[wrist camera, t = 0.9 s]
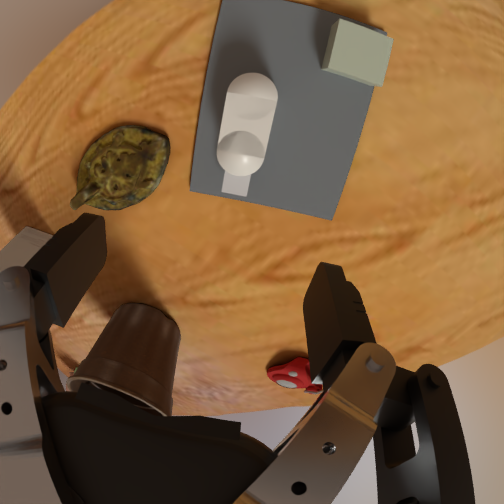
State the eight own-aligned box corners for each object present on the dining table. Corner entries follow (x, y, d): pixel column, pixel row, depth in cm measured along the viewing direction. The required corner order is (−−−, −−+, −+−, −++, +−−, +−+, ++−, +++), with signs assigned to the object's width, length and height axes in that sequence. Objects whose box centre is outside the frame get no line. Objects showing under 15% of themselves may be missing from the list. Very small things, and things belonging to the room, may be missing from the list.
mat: (225, -7, 18) (224, -8, 18) (385, 33, 19) (387, 32, 19) (191, 189, 31) (189, 191, 30) (330, 218, 32) (331, 220, 31)
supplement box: (26, 224, 35) (-22, 271, 24) (57, 235, 36) (9, 289, 25) (32, 259, 39) (-8, 307, 28) (62, 272, 40) (23, 325, 29)
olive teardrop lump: (151, 100, 26) (70, 170, 31) (130, 100, 22) (47, 180, 27) (191, 170, 30) (103, 227, 34) (176, 180, 26) (84, 242, 30)
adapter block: (331, 25, 19) (339, 18, 16) (380, 42, 20) (393, 39, 17) (321, 69, 22) (328, 67, 19) (369, 85, 22) (382, 86, 20)
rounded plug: (238, 71, 23) (231, 68, 19) (280, 79, 23) (282, 78, 19) (219, 178, 29) (209, 197, 25) (256, 186, 29) (253, 206, 25)
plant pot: (202, 359, 49) (186, 439, 35) (125, 351, 50) (99, 420, 37) (180, 293, 40) (147, 391, 26) (91, 290, 41) (46, 367, 28)
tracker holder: (261, 384, 51) (270, 369, 43) (268, 364, 54) (278, 346, 46) (319, 401, 49) (338, 389, 42) (324, 382, 52) (343, 366, 45)
